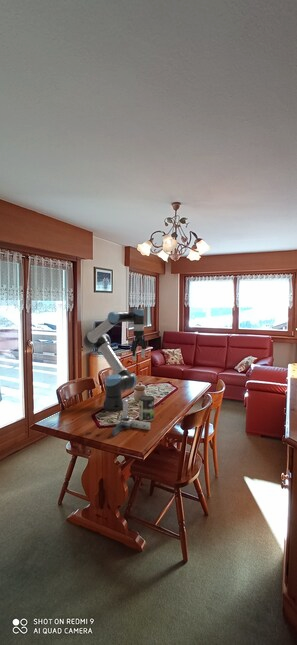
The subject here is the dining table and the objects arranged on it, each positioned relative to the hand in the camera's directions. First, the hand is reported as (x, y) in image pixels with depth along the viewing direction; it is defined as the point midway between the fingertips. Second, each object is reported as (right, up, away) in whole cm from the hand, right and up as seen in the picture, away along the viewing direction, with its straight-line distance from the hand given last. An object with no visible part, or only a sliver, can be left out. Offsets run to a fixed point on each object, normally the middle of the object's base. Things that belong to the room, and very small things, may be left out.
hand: (138, 359), depth 225 cm
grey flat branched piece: (-4, -38, -40) cm, 56 cm away
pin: (-7, -38, -33) cm, 50 cm away
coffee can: (+6, -37, -20) cm, 43 cm away
